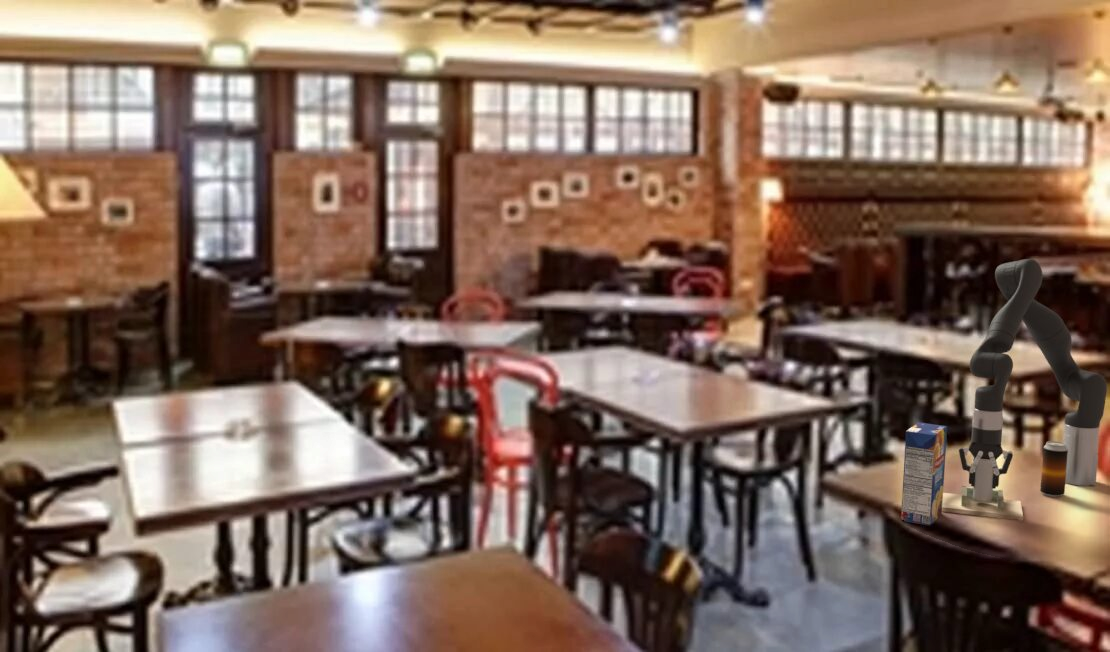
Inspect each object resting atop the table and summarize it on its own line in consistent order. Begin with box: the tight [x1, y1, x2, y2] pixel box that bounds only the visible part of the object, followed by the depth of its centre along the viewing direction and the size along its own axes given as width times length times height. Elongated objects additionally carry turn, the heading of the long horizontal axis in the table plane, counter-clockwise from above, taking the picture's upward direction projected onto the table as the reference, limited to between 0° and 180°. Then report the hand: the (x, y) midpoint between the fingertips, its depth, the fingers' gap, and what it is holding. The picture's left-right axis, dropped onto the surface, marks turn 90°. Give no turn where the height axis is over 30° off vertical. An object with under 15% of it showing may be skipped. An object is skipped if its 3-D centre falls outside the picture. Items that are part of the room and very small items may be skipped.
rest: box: [942, 485, 1024, 521], centre depth 288 cm, size 20×14×4 cm
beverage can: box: [1040, 440, 1068, 498], centre depth 300 cm, size 6×6×15 cm
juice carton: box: [900, 422, 948, 526], centre depth 279 cm, size 12×8×24 cm, turn 146°
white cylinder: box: [973, 458, 994, 503], centre depth 287 cm, size 5×5×12 cm
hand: (983, 486), depth 288 cm, fingers closed on white cylinder, 4 cm apart
